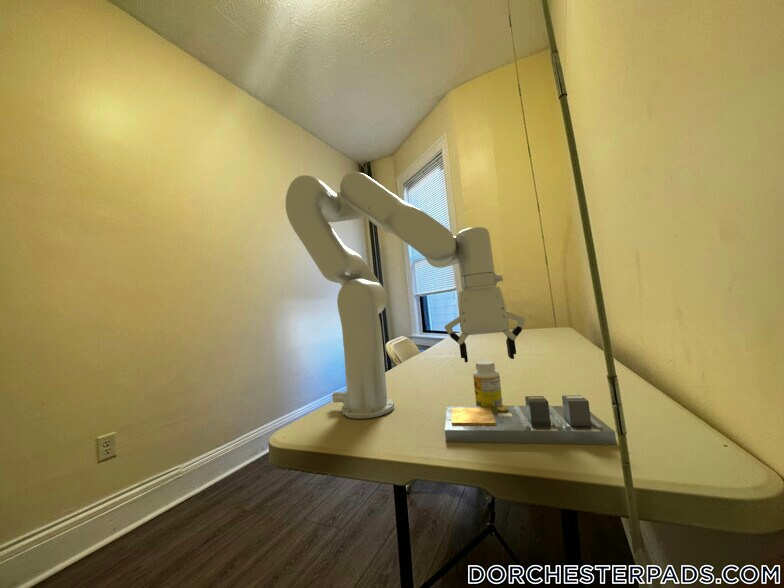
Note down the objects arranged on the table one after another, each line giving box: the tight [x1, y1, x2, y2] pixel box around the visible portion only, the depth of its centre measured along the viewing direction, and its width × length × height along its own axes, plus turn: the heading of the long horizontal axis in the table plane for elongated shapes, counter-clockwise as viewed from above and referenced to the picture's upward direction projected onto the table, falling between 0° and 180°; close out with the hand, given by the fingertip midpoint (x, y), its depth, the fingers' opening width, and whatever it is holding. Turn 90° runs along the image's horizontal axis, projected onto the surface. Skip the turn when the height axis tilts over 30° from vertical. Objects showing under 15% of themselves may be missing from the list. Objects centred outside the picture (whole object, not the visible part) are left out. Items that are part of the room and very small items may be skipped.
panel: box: [444, 395, 617, 446], centre depth 53 cm, size 26×12×6 cm, turn 77°
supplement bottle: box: [472, 360, 503, 406], centre depth 64 cm, size 6×6×10 cm
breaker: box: [561, 394, 591, 426], centre depth 49 cm, size 3×3×4 cm
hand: (488, 359), depth 64 cm, fingers open, 9 cm apart
